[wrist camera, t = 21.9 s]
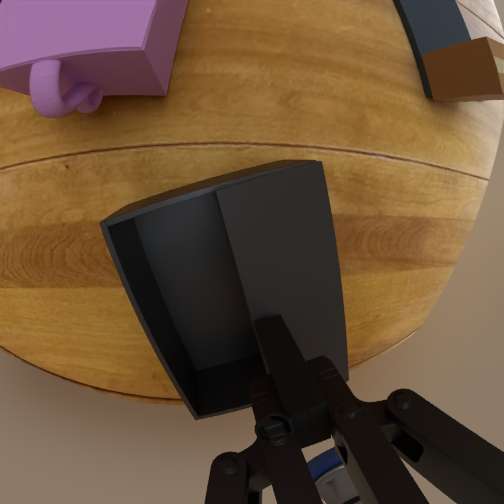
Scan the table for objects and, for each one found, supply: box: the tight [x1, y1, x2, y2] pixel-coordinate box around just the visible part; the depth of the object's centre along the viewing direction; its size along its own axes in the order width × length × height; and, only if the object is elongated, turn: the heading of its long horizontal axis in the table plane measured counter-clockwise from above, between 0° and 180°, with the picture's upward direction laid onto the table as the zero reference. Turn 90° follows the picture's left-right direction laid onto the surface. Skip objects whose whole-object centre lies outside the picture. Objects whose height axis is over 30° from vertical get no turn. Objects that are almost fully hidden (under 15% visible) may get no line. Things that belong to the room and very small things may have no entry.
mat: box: [393, 0, 484, 101], centre depth 19 cm, size 19×12×1 cm, turn 14°
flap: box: [214, 161, 349, 382], centre depth 17 cm, size 17×6×1 cm, turn 14°
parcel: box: [421, 37, 504, 102], centre depth 16 cm, size 5×6×9 cm
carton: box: [100, 160, 316, 420], centre depth 21 cm, size 17×13×6 cm
